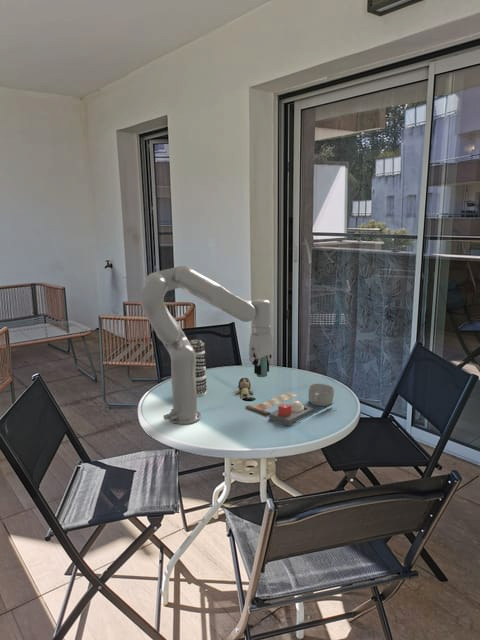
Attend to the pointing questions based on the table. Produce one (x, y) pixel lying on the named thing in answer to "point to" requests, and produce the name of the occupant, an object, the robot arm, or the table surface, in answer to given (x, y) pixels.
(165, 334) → the robot arm
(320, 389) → the teacup
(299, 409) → the dome
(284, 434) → the table surface
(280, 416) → the base
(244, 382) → the figurine
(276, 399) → the track board
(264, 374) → the green capsule
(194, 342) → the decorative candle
